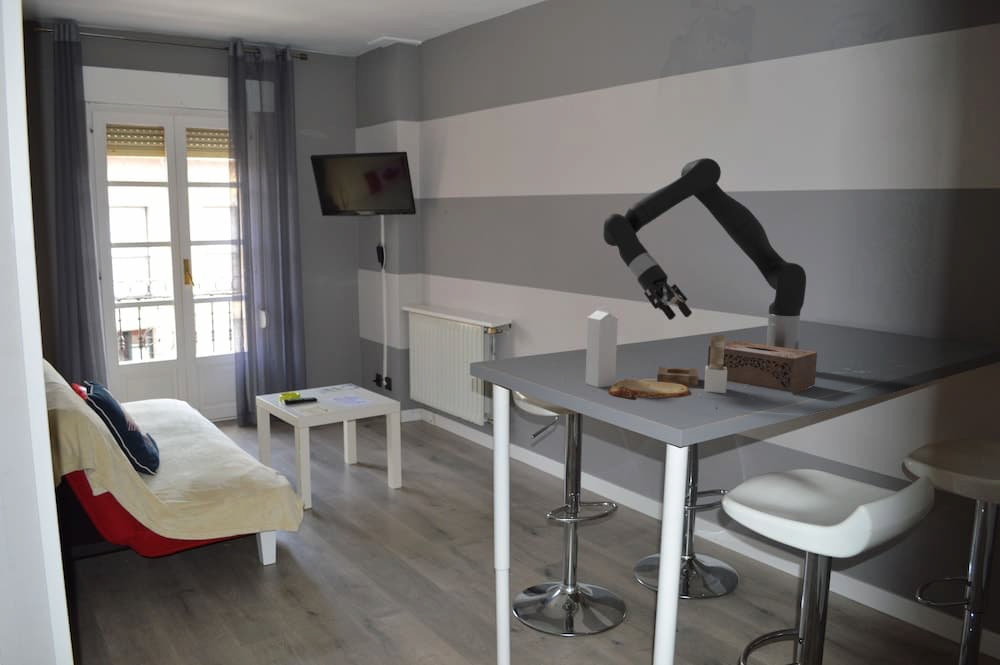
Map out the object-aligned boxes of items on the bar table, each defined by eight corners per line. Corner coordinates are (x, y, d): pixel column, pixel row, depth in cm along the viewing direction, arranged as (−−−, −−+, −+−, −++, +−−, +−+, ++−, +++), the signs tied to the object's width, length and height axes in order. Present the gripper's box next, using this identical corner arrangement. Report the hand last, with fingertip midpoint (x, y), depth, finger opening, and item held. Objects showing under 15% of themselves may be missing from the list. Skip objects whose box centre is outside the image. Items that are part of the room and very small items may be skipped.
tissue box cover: (706, 379, 232) (708, 346, 231) (731, 373, 243) (733, 340, 241) (791, 395, 214) (794, 358, 213) (814, 387, 225) (817, 352, 223)
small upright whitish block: (725, 390, 217) (726, 366, 216) (725, 395, 212) (727, 370, 211) (704, 389, 218) (705, 365, 217) (704, 393, 213) (705, 369, 212)
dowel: (721, 389, 216) (724, 334, 214) (721, 391, 213) (725, 336, 211) (708, 388, 217) (711, 333, 215) (708, 390, 214) (711, 335, 211)
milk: (597, 388, 218) (600, 308, 214) (585, 383, 223) (587, 305, 220) (615, 385, 221) (618, 307, 217) (602, 381, 226) (605, 304, 223)
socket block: (697, 380, 229) (697, 368, 228) (697, 389, 218) (698, 376, 218) (658, 378, 232) (659, 366, 231) (657, 386, 221) (657, 374, 220)
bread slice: (696, 395, 212) (697, 382, 212) (660, 407, 199) (661, 392, 199) (639, 385, 224) (639, 372, 224) (602, 395, 211) (602, 381, 210)
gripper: (642, 264, 218) (676, 310, 212) (669, 262, 229) (703, 306, 223) (625, 282, 223) (658, 327, 217) (653, 279, 233) (685, 322, 227)
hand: (681, 316), depth 220 cm, fingers open, 8 cm apart
